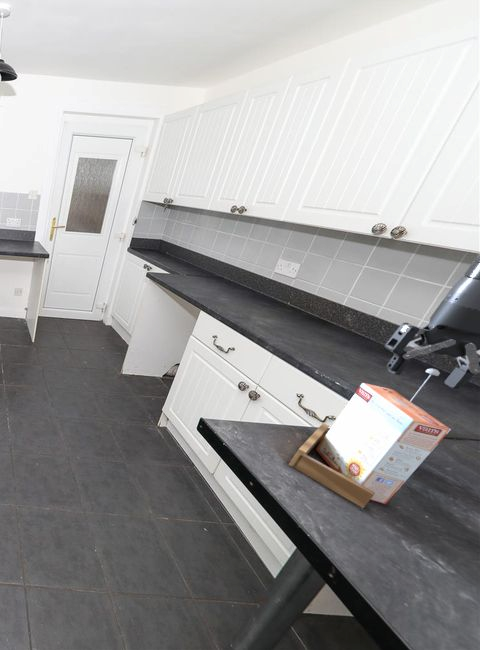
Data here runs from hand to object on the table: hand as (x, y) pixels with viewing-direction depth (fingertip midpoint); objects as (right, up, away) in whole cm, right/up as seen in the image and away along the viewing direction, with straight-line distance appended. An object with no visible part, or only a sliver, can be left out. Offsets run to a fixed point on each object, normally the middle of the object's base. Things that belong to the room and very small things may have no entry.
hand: (421, 379), depth 66 cm
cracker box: (-3, -25, +11) cm, 27 cm away
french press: (+13, -22, +20) cm, 33 cm away
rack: (-4, -24, +12) cm, 27 cm away
